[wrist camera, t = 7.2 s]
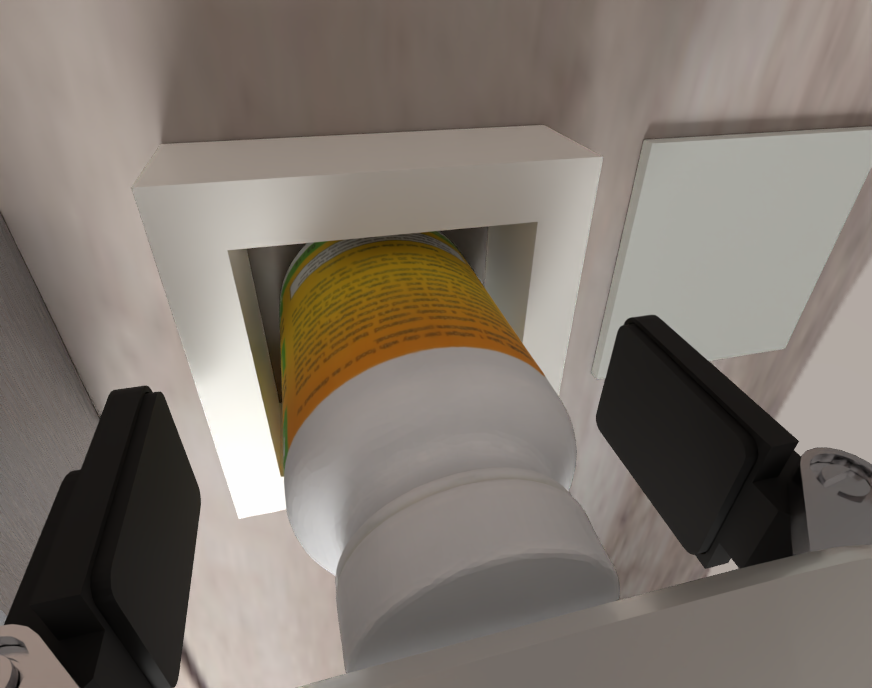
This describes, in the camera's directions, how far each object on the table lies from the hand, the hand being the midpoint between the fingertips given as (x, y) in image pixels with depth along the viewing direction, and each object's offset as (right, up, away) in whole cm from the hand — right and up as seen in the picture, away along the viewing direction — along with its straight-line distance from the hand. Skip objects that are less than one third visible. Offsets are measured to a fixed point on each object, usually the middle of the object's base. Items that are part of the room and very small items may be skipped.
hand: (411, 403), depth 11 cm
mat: (+10, +4, +6) cm, 12 cm away
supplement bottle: (-1, +3, +4) cm, 5 cm away
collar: (-1, +2, +4) cm, 5 cm away
